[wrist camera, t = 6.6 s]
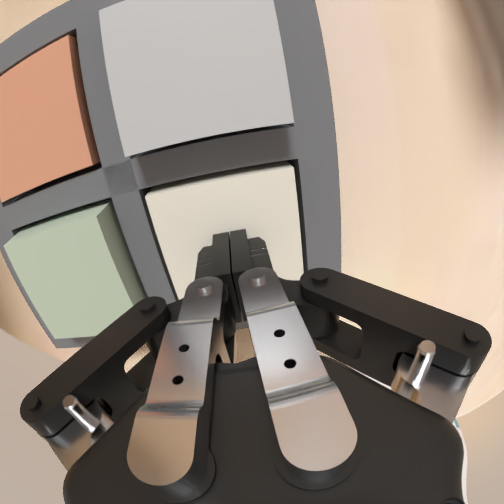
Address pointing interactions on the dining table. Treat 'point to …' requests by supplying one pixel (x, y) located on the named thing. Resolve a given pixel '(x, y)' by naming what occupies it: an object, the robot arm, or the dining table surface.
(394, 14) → the dining table surface
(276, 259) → the key cream
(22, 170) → the key terracotta
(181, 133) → the key grey
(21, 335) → the dining table surface
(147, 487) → the robot arm
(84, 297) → the key sage
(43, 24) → the keypad
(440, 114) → the dining table surface
